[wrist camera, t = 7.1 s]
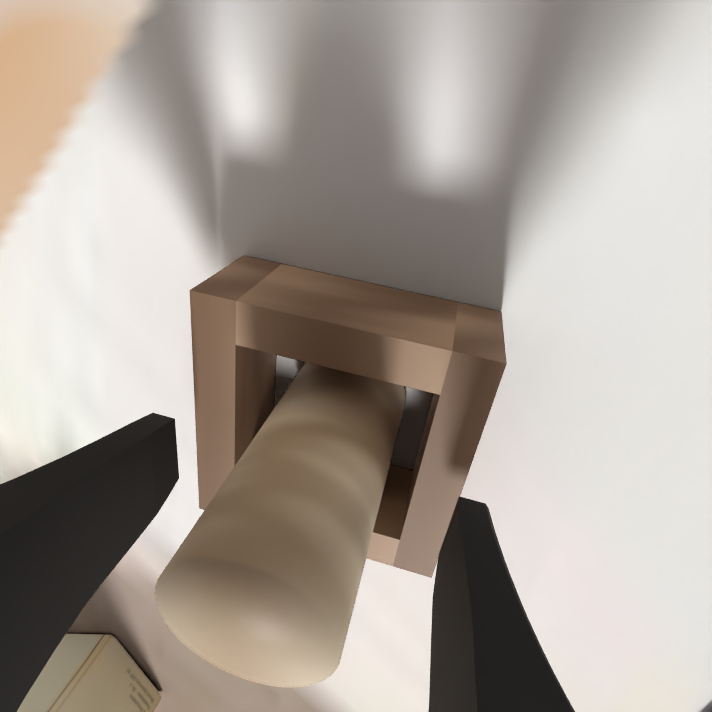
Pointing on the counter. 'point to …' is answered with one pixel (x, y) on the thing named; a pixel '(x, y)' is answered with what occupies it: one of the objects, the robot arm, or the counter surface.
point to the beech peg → (288, 534)
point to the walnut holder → (354, 355)
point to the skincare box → (91, 679)
